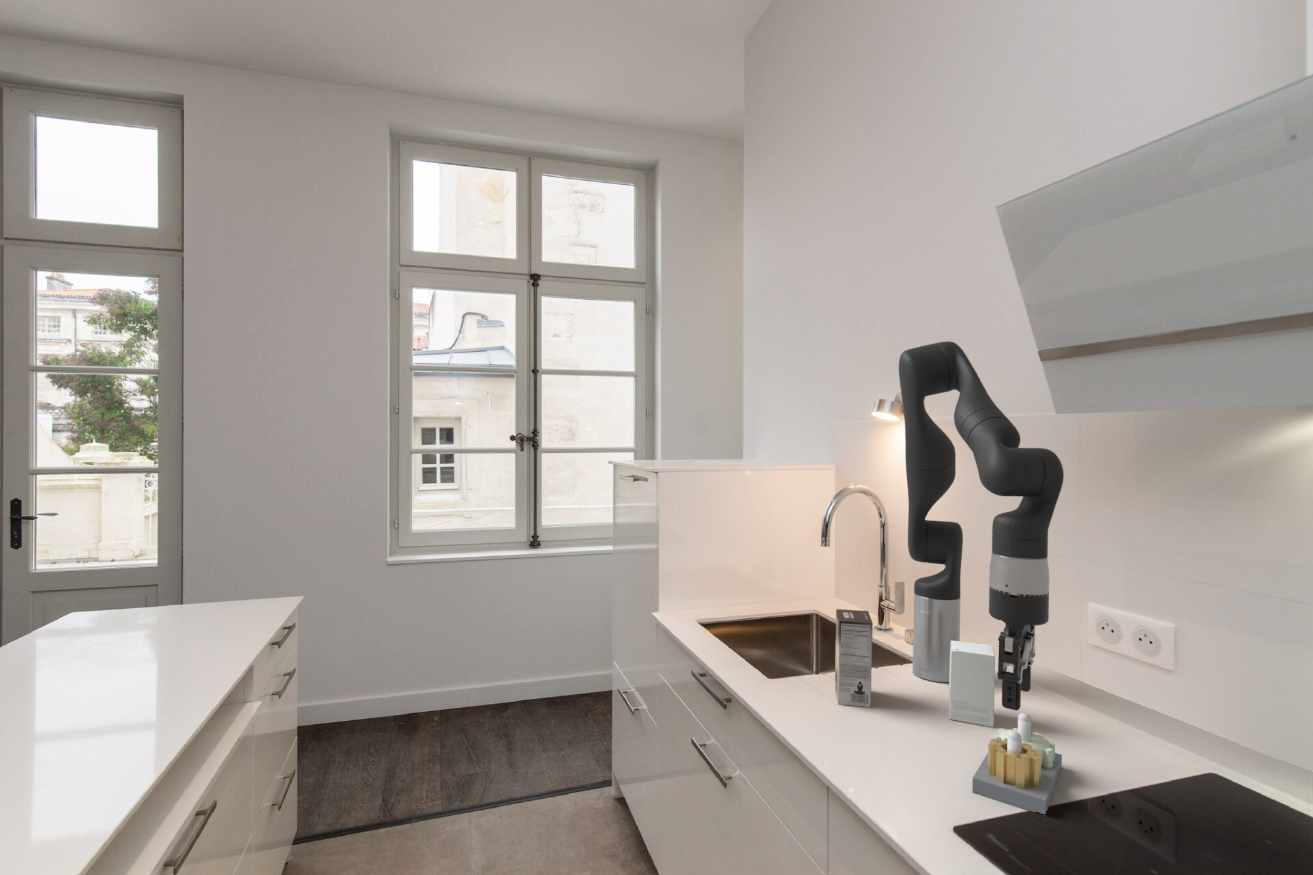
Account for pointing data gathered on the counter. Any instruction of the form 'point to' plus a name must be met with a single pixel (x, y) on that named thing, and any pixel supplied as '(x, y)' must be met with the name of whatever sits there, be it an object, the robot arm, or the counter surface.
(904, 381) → the robot arm
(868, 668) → the coffee box
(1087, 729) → the counter surface
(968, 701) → the supplement box
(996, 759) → the brass gear
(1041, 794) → the gear board
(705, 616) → the counter surface
